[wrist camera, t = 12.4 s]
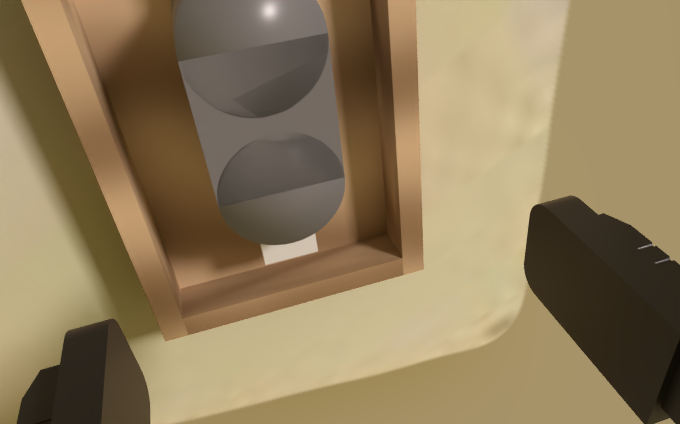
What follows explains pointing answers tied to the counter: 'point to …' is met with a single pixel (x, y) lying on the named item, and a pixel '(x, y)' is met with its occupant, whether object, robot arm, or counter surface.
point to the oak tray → (191, 169)
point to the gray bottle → (264, 116)
